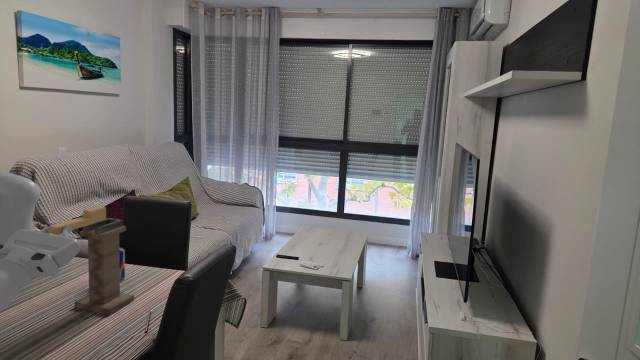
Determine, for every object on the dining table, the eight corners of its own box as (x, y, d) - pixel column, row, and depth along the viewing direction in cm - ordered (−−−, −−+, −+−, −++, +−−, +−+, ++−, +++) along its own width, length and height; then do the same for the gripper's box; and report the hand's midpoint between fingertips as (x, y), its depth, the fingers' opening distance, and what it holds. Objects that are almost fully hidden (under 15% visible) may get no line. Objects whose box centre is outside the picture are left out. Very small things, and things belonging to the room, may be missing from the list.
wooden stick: (49, 232, 115) (48, 219, 114) (98, 218, 132) (98, 206, 132) (57, 234, 114) (57, 220, 114) (106, 219, 132) (105, 207, 131)
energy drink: (118, 283, 154) (118, 253, 152) (106, 281, 155) (105, 251, 153) (127, 277, 159) (127, 248, 157) (115, 275, 160) (115, 246, 158)
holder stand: (74, 307, 134) (72, 224, 130) (100, 293, 145) (98, 216, 140) (110, 315, 131) (109, 230, 126) (133, 300, 142) (133, 221, 137)
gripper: (0, 263, 112) (39, 228, 122) (61, 276, 107) (96, 238, 117) (-13, 248, 108) (28, 213, 118) (50, 260, 103) (87, 222, 113)
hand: (63, 225), depth 117 cm, fingers closed on wooden stick, 3 cm apart
